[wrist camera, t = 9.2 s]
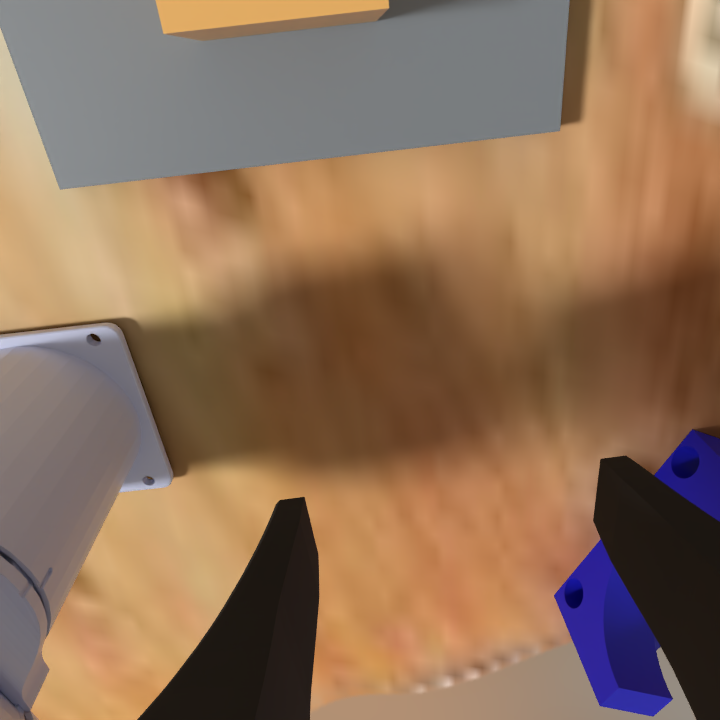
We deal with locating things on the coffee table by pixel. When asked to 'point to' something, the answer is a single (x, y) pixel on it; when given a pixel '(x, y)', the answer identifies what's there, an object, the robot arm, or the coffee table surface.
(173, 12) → the cardboard carton
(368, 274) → the coffee table surface
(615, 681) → the cable clip
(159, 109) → the plate
